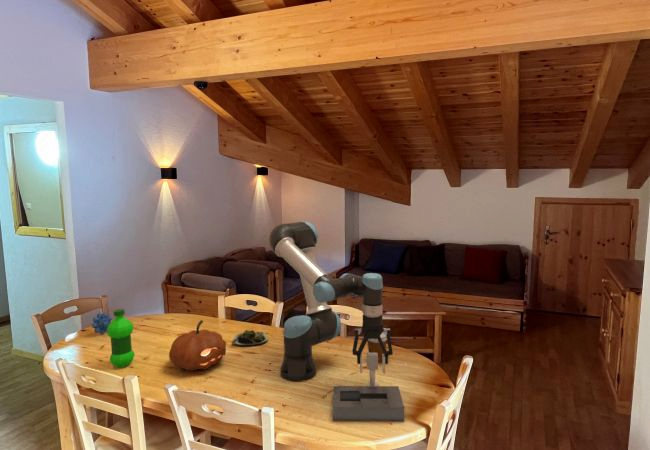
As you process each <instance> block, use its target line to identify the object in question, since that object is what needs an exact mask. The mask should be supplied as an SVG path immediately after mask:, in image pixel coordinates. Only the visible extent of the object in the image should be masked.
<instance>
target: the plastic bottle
mask: <svg viewBox="0 0 650 450" xmlns="http://www.w3.org/2000/svg"><path fill="white" fill-rule="evenodd" d="M125 312H126V311H125V309H124V308H120V309H117V308H116V309H114V310H113V316H114V317H115V318H114V319H113V320H111V321H110V322H111V323H110V324H109V326H108V328H107V332H106V334H107V337H109V338H110V345H111V346H110V347H111V348H110V349H111V353H110V357H109V361H110V363H111V364H112V365H113V366H115V367H116V368H118V369H119V368H126V367H128V366H129V365H130V364H131V363H133V360H134V358H135V351H134V350H133V347H132V336H131V334H132V333H133V331H134V324H133V322H132V321H130V320H129V319H127V318H126V317H124V315H125V314H126V313H125Z"/></svg>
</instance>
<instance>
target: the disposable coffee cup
mask: <svg viewBox="0 0 650 450" xmlns="http://www.w3.org/2000/svg"><path fill="white" fill-rule="evenodd" d="M380 337H381V339H382V341H383V344H384V346H385V348H386V346H387V345H386V343H387V337H386V334H385V332H384V331H383V332H382V334H381V335H380ZM366 344H367V349H368V353H377V354H378V364H380V363H382V354H384V352H383V350H382V348H381V346H380V343H379V341H378V339H369V338H368V341H367V342H366Z"/></svg>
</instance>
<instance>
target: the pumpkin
mask: <svg viewBox="0 0 650 450" xmlns="http://www.w3.org/2000/svg"><path fill="white" fill-rule="evenodd" d="M203 322H204V320H202V319H201V320H200V321H199V322H198V323H197V326H196V330H191V331H189V332H187V333H183V334H180V335H179V336H177V337H175V339H174V341H173V342H172V343H171V346H170V349H169V353H168V358H169V361H170V362H171V364H173V365H174V366H176V367H178V368H181V369H185V370H187V371H195V370H206V369H208V368H209V367H211V366H213V365H214V366H215V365H216V364H218V363H219V362H220V361H221V360H222V359H223V357H224V356H226V351H227V348H226V345H227V343H226V341H225V340H224V338H223V335H222V334H221V333H219V332H216V331H212V330H209V329H205V328H204V329H200V327H201V325H202V324H203Z"/></svg>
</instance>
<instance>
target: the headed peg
mask: <svg viewBox="0 0 650 450" xmlns="http://www.w3.org/2000/svg"><path fill="white" fill-rule="evenodd" d="M366 368H367V370H369V381H367V382H366V383H365V386H380V384H379V383H378V382H377V381H376V370H379V363H378V354H377V353H369V352H367V353H366Z"/></svg>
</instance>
